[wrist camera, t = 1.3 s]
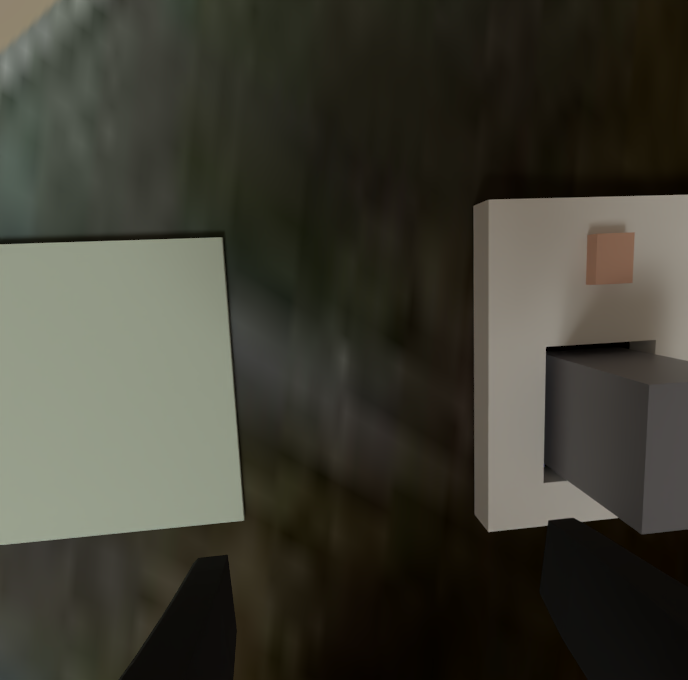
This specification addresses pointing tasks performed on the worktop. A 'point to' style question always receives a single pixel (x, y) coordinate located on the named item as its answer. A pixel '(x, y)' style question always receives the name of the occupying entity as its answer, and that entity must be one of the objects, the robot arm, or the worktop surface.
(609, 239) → the white flat block
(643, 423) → the block
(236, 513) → the rubber mat
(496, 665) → the worktop surface
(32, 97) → the worktop surface
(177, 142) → the worktop surface
